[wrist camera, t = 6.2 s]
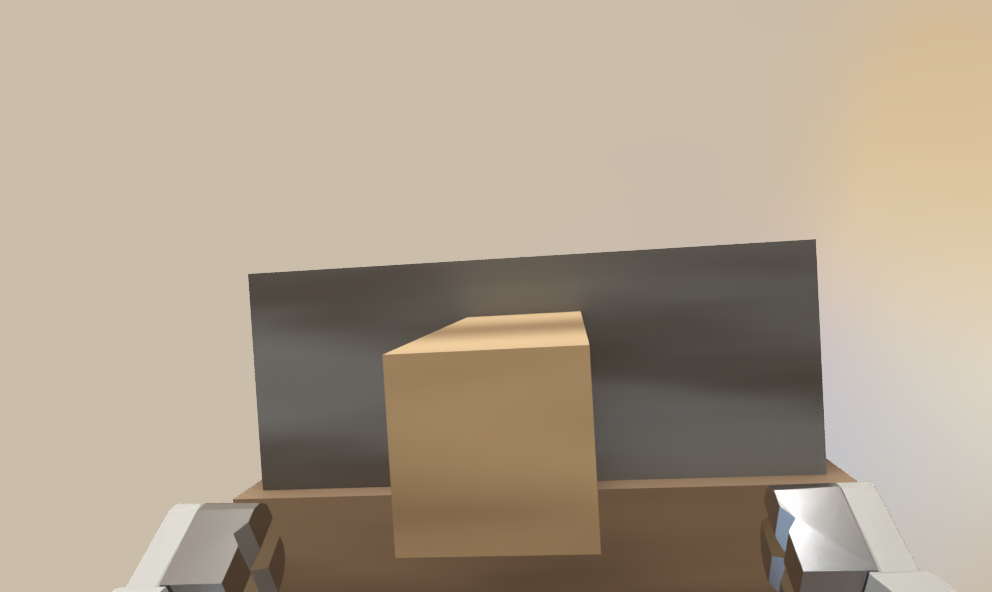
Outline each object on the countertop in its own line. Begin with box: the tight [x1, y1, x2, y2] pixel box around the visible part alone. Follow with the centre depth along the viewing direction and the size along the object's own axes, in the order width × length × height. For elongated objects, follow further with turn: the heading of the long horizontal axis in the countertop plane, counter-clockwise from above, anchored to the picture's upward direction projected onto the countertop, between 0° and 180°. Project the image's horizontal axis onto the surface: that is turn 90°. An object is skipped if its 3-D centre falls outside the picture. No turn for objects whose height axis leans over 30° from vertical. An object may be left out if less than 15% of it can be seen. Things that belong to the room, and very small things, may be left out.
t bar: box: [248, 239, 826, 558], centre depth 16 cm, size 12×15×6 cm
